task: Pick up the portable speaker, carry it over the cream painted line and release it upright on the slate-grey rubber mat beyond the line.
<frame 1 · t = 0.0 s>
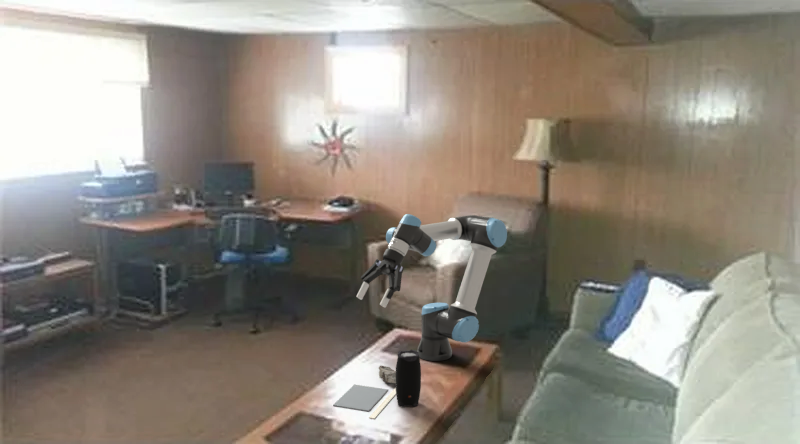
hand: (370, 302, 260), 36 cm above the table, tool tilted 35°, fingers open, 13 cm apart
mineral rock: (391, 381, 279), on the table, touching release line
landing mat: (361, 397, 262), on the table
portable speaker: (407, 404, 258), on the table
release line: (386, 401, 259), on the table
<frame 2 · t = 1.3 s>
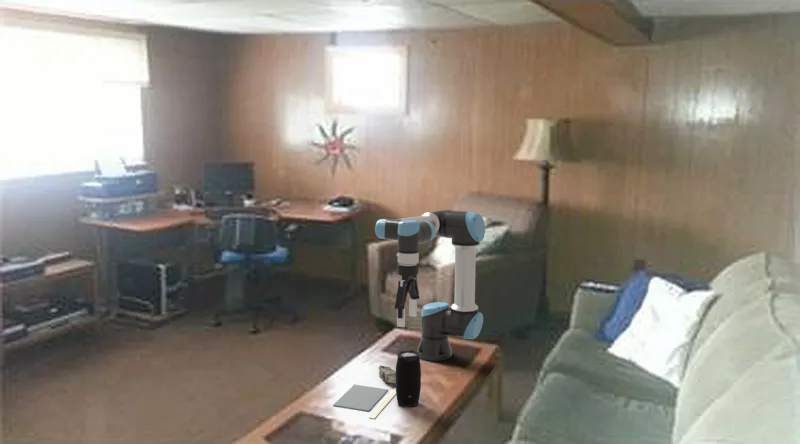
hand: (406, 321, 253), 31 cm above the table, tool pointing down, fingers open, 13 cm apart
nothing on the table moved.
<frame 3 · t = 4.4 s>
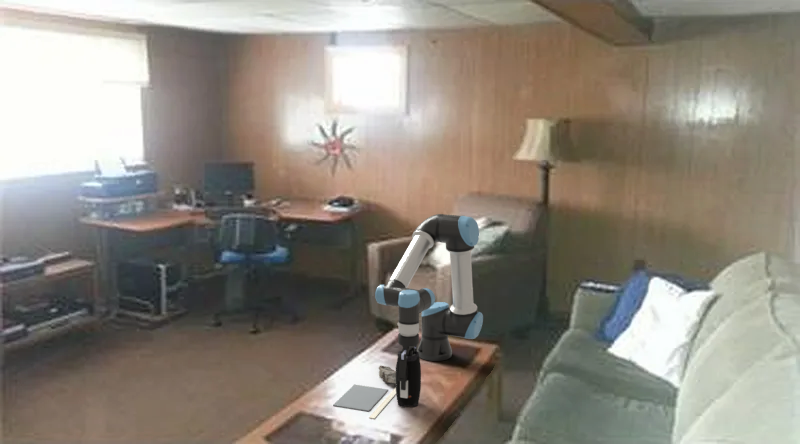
hand: (408, 392, 257), 4 cm above the table, tool pointing down, fingers closed on portable speaker, 8 cm apart
portable speaker: (407, 404, 258), on the table, touching gripper
everything else where it was.
when the fingers open (6 cm above the table, at t = 12.1 s): portable speaker stays where it is, resting on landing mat.
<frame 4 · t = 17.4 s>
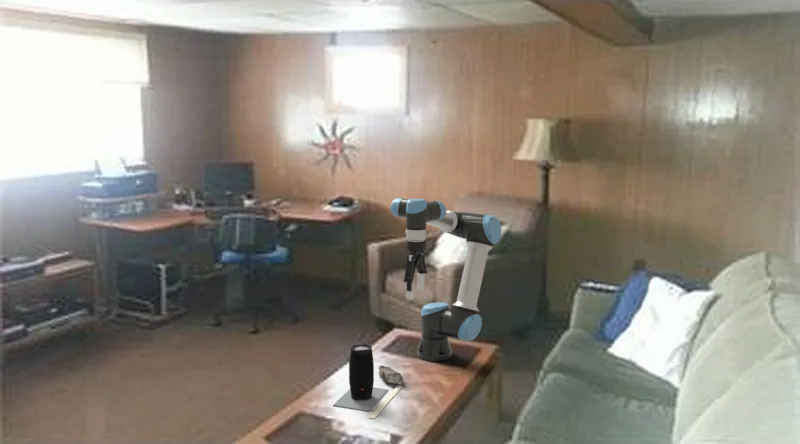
hand: (415, 294, 268), 37 cm above the table, tool pointing down, fingers open, 13 cm apart
portable speaker: (361, 397, 263), resting on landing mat
everything else where it was.
at the end: portable speaker inside the target area (0.8 cm from its centre), resting on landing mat; portable speaker tilted 0°; the gripper is holding nothing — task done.
